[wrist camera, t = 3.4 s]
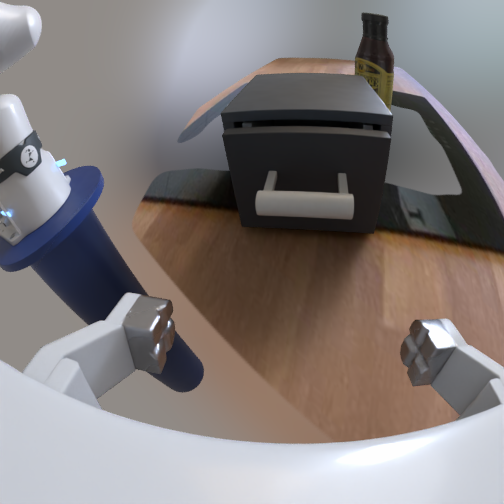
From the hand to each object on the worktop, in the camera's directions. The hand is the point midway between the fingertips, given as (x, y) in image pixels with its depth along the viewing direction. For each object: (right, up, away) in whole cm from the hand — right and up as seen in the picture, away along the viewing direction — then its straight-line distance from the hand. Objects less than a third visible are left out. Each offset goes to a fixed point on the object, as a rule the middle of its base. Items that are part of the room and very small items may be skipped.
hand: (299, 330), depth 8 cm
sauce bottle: (+19, +23, +31) cm, 43 cm away
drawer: (+4, +8, +18) cm, 20 cm away
